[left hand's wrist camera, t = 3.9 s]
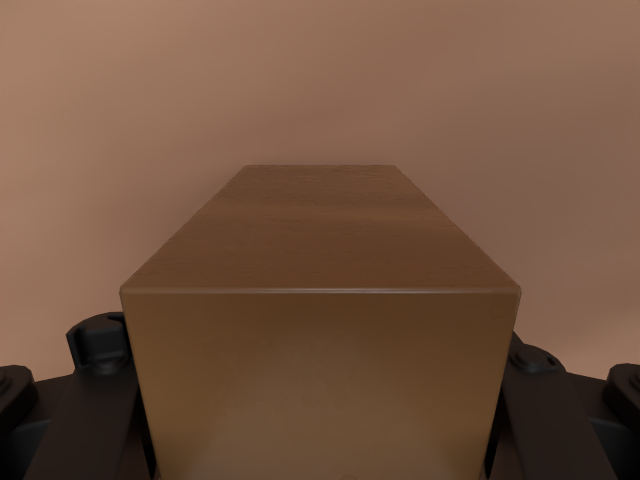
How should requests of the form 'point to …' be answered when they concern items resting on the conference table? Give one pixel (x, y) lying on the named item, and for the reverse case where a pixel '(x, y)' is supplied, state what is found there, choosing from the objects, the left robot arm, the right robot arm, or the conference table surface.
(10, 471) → the left robot arm
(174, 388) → the bar
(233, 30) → the conference table surface
